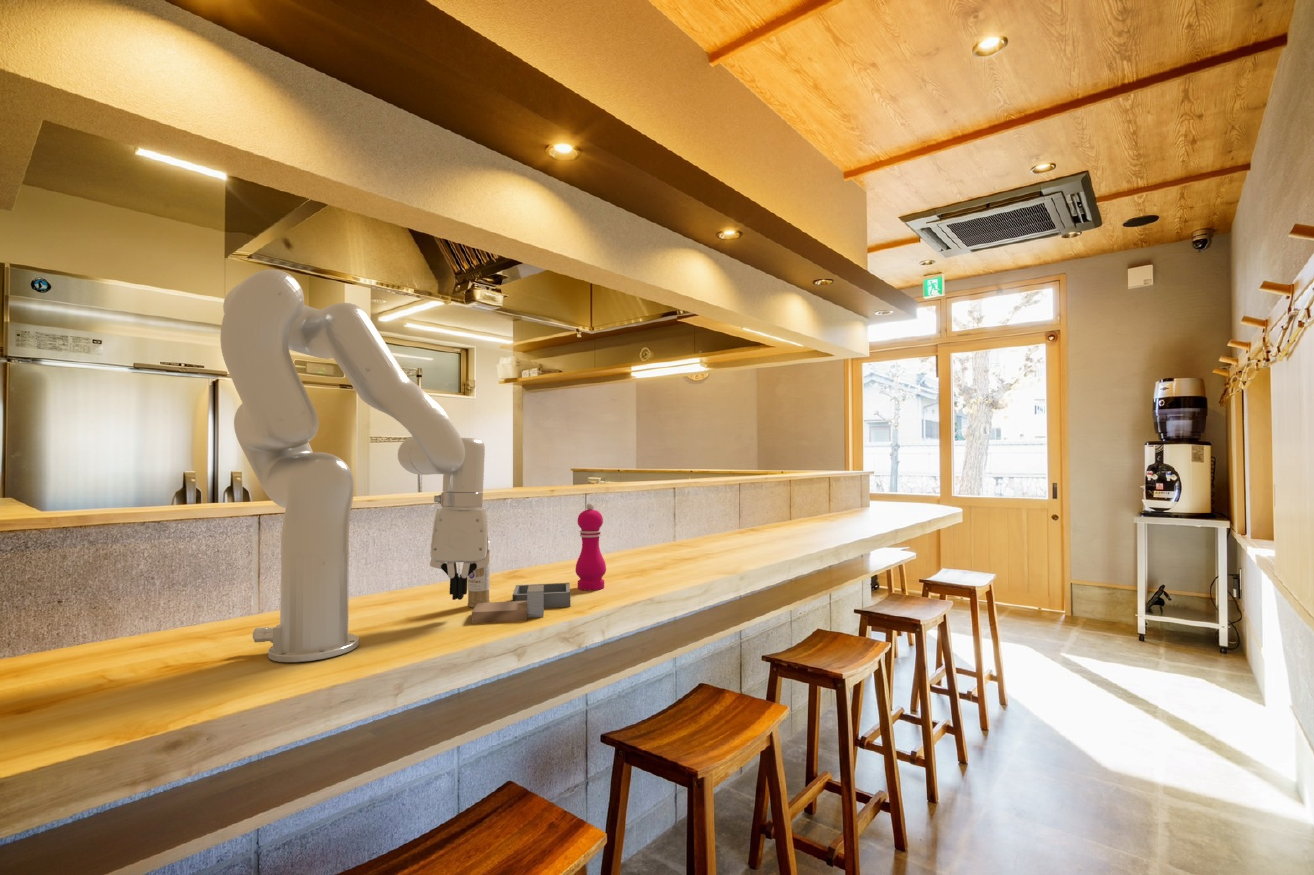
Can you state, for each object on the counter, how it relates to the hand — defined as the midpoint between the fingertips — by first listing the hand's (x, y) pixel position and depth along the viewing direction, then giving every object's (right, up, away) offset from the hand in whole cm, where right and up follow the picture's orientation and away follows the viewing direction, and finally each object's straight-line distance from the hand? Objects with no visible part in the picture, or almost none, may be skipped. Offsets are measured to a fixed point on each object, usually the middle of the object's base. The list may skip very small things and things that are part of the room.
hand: (458, 598), depth 116 cm
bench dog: (+14, -4, +3) cm, 15 cm away
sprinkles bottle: (+1, -5, +11) cm, 12 cm away
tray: (+14, -4, +13) cm, 19 cm away
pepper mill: (+22, -5, +28) cm, 36 cm away
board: (+8, -4, +1) cm, 9 cm away
